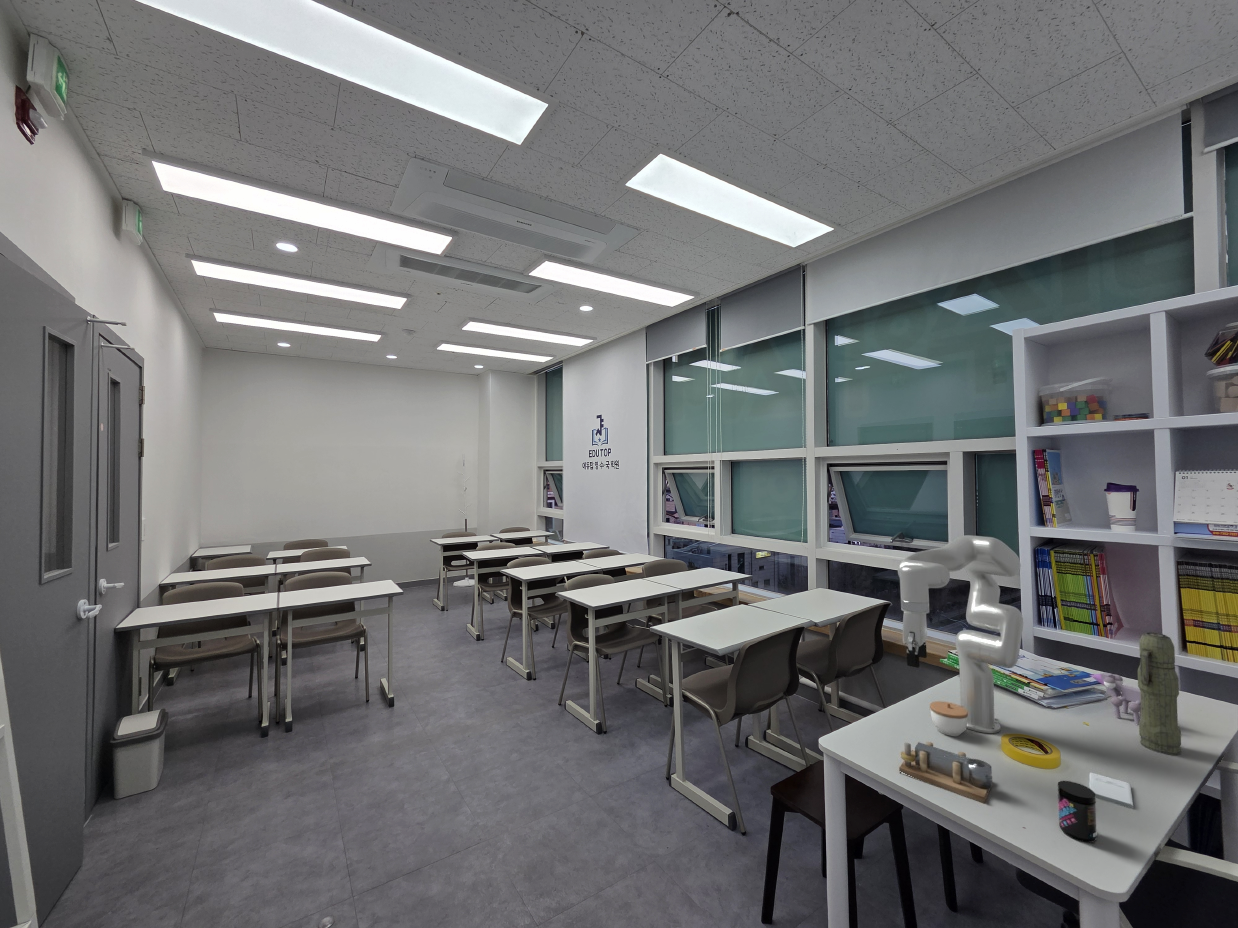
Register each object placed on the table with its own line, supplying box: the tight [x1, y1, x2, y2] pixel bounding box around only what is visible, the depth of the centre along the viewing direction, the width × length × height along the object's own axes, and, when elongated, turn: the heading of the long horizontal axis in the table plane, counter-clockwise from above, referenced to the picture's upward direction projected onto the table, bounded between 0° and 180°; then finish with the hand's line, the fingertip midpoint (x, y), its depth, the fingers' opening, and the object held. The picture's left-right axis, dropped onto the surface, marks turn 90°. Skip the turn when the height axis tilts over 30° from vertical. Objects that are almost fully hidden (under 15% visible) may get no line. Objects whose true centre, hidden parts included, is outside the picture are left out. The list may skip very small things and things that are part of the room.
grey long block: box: [914, 741, 993, 790], centre depth 143 cm, size 6×18×5 cm, turn 46°
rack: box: [898, 741, 990, 804], centre depth 144 cm, size 13×20×8 cm, turn 46°
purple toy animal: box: [1089, 671, 1141, 726], centre depth 180 cm, size 20×11×14 cm, turn 23°
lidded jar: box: [929, 700, 968, 737], centre depth 170 cm, size 11×11×9 cm
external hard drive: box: [1088, 772, 1134, 810], centre depth 137 cm, size 2×8×12 cm
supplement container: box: [1057, 780, 1098, 843], centre depth 121 cm, size 7×7×10 cm
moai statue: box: [1137, 631, 1182, 756], centre depth 159 cm, size 9×12×35 cm
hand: (917, 661), depth 157 cm, fingers open, 9 cm apart
